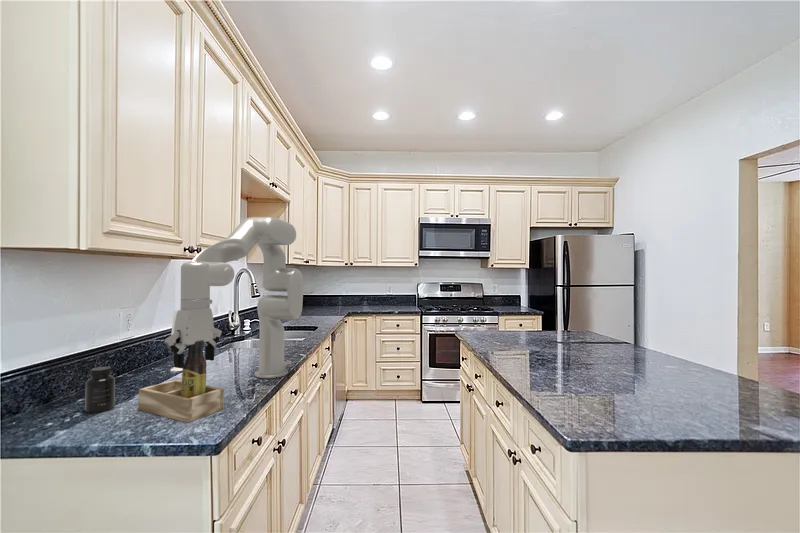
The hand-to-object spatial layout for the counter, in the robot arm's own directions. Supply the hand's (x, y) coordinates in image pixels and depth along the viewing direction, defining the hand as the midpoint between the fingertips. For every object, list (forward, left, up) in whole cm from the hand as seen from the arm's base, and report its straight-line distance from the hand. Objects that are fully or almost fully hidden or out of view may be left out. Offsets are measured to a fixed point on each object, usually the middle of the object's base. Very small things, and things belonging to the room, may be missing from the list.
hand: (194, 363), depth 111 cm
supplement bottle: (+11, -26, -14) cm, 31 cm away
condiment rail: (0, -5, -14) cm, 15 cm away
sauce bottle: (0, 0, -13) cm, 13 cm away
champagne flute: (-30, -50, -14) cm, 60 cm away
